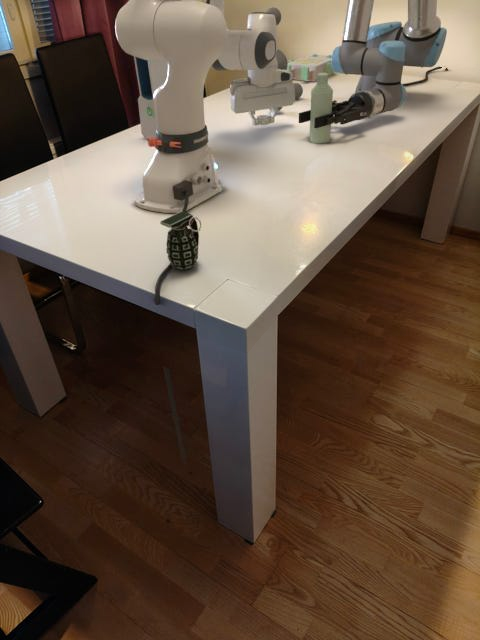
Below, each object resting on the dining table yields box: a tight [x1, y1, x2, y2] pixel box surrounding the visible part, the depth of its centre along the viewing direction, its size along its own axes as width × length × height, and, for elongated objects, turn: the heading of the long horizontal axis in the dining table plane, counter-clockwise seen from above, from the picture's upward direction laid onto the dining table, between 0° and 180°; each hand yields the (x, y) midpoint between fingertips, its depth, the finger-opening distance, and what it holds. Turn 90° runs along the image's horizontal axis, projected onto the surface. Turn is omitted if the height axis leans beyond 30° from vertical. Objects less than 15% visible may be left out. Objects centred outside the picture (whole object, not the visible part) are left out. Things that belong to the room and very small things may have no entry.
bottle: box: [309, 73, 334, 144], centre depth 139 cm, size 6×6×18 cm
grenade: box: [159, 211, 202, 271], centre depth 88 cm, size 7×6×10 cm
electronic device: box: [133, 56, 168, 140], centre depth 143 cm, size 12×8×30 cm, turn 47°
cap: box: [256, 114, 271, 126], centre depth 152 cm, size 4×4×2 cm
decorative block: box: [287, 53, 335, 82], centre depth 209 cm, size 26×6×20 cm
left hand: (263, 123), depth 153 cm, fingers closed on cap, 4 cm apart
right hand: (307, 120), depth 138 cm, fingers closed on bottle, 6 cm apart
